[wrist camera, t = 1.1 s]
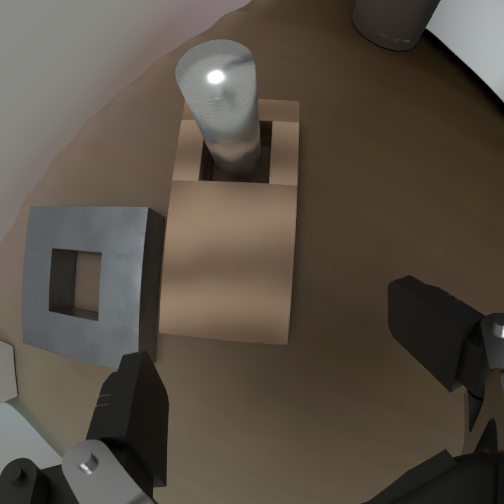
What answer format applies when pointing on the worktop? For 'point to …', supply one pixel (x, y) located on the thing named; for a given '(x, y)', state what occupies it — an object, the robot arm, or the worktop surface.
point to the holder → (111, 281)
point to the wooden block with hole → (232, 238)
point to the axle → (224, 105)
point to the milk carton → (7, 373)
